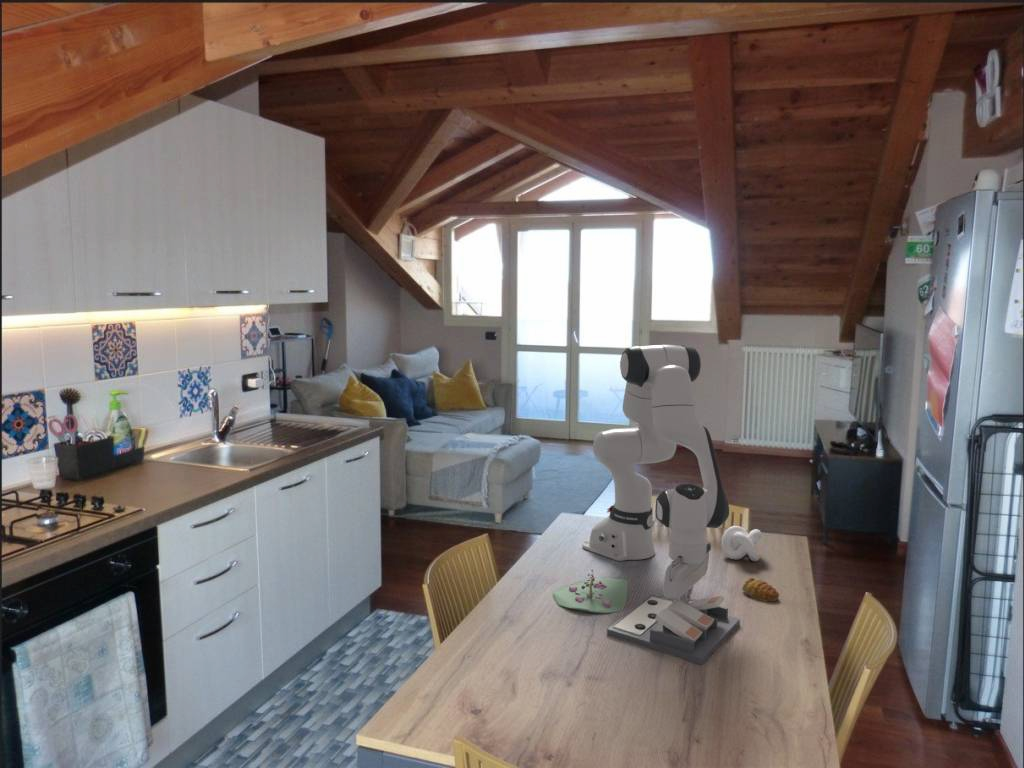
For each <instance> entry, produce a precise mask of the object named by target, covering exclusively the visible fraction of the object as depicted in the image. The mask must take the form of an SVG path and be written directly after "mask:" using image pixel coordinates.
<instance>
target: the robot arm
mask: <svg viewBox="0 0 1024 768" xmlns="http://www.w3.org/2000/svg"><path fill="white" fill-rule="evenodd" d="M619 361H620V362H619V369H620V375H621V377H622V379H623V380H624V381H625V382H626V383H625V389H624V396H623V400H622V412H623V414H624V416H625V418H627V419H628V420H630V421H631V422H633V423H634V424H636V426H635V427H623V428H622V427H621V428H610V429H607V430H602V431H599V432H598V433H597V434H596V435H595V437H594V440H593V442H592V452H593V455H594V457H595V458H596V460H597V461H598V462H599V463H600V464H602V465H603V467H605V468H607V470H608V471H609V473H610V475H611V477H612V479H613V486H614V503H613V505H610V506H609V508H606V513H609V516H607V517H605V518H603V519H602V520H601V521H599V522H597V523H596V524H595V525H594V526H592V527H593V528H592V529H591V530H590V531H591V532H590V536H589V537H587V539H585V540H584V541H583V542H582V549H585V550H587V551H590V552H592V553H595V554H598V555H601V556H603V557H606V558H608V559H612V560H614V561H618V562H619V561H620V562H621V561H627V560H629V561H630V560H632V561H633V560H635V561H636V560H644V559H645V560H646V559H650V558H652V557H653V556H655V554H656V551H655V545H654V541H653V535H652V533H653V531H652V526H653V520H654V519H653V511H654V510H653V507H652V495H653V494H652V493H653V492H652V491H653V486H652V484H651V481H650V480H649V479H648V478H647V477H646V476H644V475H642V474H640V473H637V472H636V471H635V469H636V468H635V467H636V466H635V465H640V464H642V465H643V464H656V463H660V462H665V461H668V460H671V459H672V458H673V457H674V455H675V453H676V451H677V445H680V446H682V447H685V448H686V449H688V450H690V451H691V452H692V453H693V454H694V455H695V457H696V458H697V461H698V466H699V470H700V471H699V472H700V474H701V480H702V484H703V487H701V486H699V485H696V484H691V483H683V484H678V485H676V486H675V487H674V488H671V489H666V490H663V491H660V493H659V495H657V497H656V498H655V518H656V520H657V521H658V522H659V523H660V524H662V525H663V526H664V527H666V528H669V529H670V530H671V531H670V534H669V539H668V540H669V541H668V542H669V545H668V557H669V558H670V559H671V560H673V561H671V562H670V564H669V565H668V566H667V568H666V570H665V574H664V578H663V579H664V580H663V591H662V592H663V596H664V598H666V599H669V600H673V601H675V600H680V601H682V602H684V603H686V604H688V603H689V602H690V601H691V598H692V594H693V590H694V586H695V585H696V584H697V583H698V582H699V581H700V580H701V579H703V577H704V576H706V575H707V573H708V572H707V571H708V568H709V561H710V560H709V559H710V551H711V549H712V542H710V541H707V537H706V529H707V528H711V529H712V528H713V529H718V528H719V527H720V526H722V525H723V524H724V523H725V522H726V521H727V520H728V518H729V516H730V505H729V502H728V498H727V494H726V492H725V488H724V486H723V482H722V477H721V474H720V469H719V464H718V459H717V455H716V451H715V447H714V444H713V439H712V437H711V434H710V431H709V430H708V428H707V427H706V426H704V425H702V424H701V422H700V420H699V419H698V415H697V413H696V408H695V407H696V406H695V396H694V389H693V388H694V387H693V385H692V384H693V382H695V381H696V380H697V378H699V376H700V373H701V365H702V363H701V356H700V354H699V351H697V349H696V348H695V347H693V346H688V345H675V344H654V345H653V344H651V345H642V346H639V345H634V346H629V347H626V348H625V349H624V351H622V353H621V357H620V360H619Z"/></svg>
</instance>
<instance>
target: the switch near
mask: <svg viewBox="0 0 1024 768" xmlns="http://www.w3.org/2000/svg"><path fill="white" fill-rule="evenodd" d="M655 620H656V621H658V622H659V623H661V624H662V625H664V626H665V627H667V628H668V629H670V630H671V631H673V632H674V633H676V634H677V635H678V636H680V637H681V638H685V639H688V640H691V641H696V640H697V639H698V638H699V637H700V636H701V634H702V632H701V631H700V630H698V629H697V628H695V627H694V626H692V625H691V624H689V623H688V622H686V621H685V620H683V619H682V618H680V617H679V616H677V615H676V614H674V613H673V612H671V611H670V610H668V609H667V608H665V609H663V610H662V611H661V612H660V613H659V614H657V615H656V617H655Z"/></svg>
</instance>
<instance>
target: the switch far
mask: <svg viewBox="0 0 1024 768" xmlns="http://www.w3.org/2000/svg"><path fill="white" fill-rule="evenodd" d="M724 602H725V597H724V595H723V594H722V595H718V596H711V597H707V598H700V599H696V600H694V601H690V602H689V603H688V604H687V605H689V606H691V607H693V608H695V609H696V610H704V609H710V608H716V607H718V606H721V604H722V603H724Z"/></svg>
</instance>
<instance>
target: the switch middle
mask: <svg viewBox="0 0 1024 768" xmlns="http://www.w3.org/2000/svg"><path fill="white" fill-rule="evenodd" d="M673 601H674V602H673V603H671V604H670V605H669V606H668V610H670V611H671V612H673V613H674V614H676V615H677V616H679V617H680V618H682V619H683V620H685V621H687V622H689V623H691V624H692V625H694V626H696V627H699V628H702V629H706V630H707V629H708V628H709V627H710V626H711V625H712V624H713V622H714V619H713V618H711V617H709V616H707V615H706V614H704V613H702V612H700V611H698V610H696V609H695V608H693V607H691V606H689V605H687V604H686V603H684V602H682V601H680V600H679V599H678V600H673Z"/></svg>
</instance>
